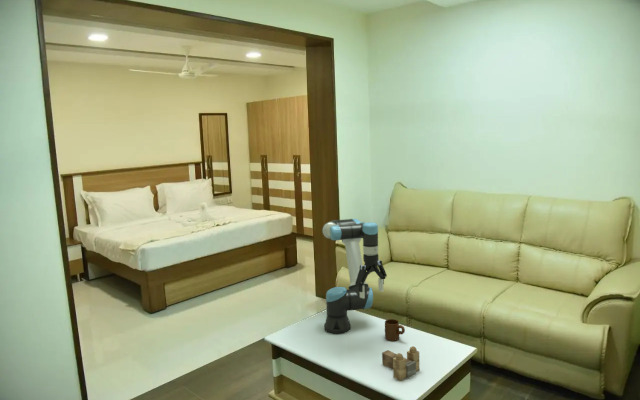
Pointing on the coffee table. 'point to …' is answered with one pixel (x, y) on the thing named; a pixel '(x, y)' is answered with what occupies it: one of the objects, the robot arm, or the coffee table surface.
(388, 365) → the rail
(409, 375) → the knobbed wooden twin blocks
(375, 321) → the coffee table surface
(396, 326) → the mug
